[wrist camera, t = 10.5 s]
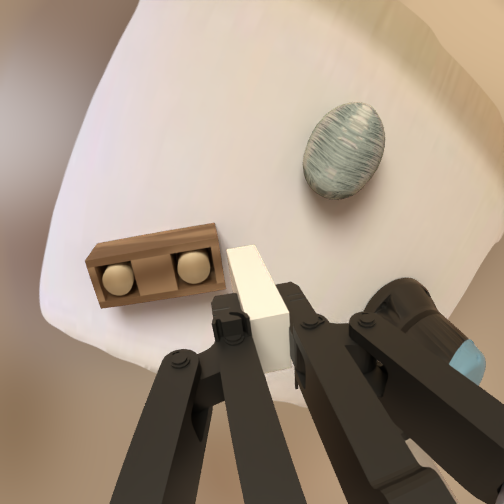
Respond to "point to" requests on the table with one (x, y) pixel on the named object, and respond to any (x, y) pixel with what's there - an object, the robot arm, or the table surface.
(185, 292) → the walnut block
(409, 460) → the robot arm
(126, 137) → the table surface
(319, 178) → the grey green ridged egg
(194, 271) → the peg right
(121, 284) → the peg left
